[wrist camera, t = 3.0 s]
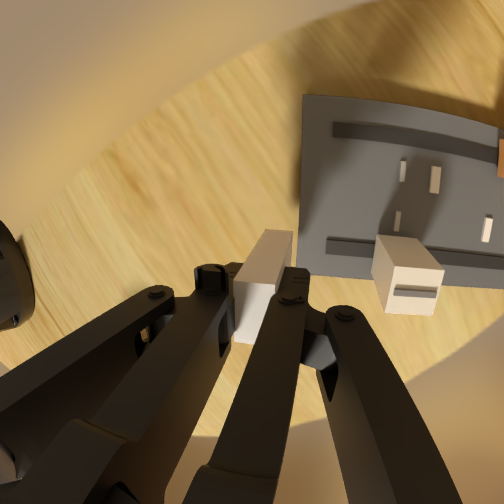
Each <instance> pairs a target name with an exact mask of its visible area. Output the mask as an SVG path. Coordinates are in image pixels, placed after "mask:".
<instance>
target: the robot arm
mask: <svg viewBox="0 0 504 504" xmlns="http://www.w3.org/2000/svg"><path fill="white" fill-rule="evenodd" d="M292 235H293V231H282V230H269V229H265V231H264V233H263V234H262V236H261V237H260V239H259V240H258V242H257V244H256V245H255V247H254V248H253V250H252V251H251V253H250V255H249V256H248V258H247V259H246V261H245V262H244V263H235V262H231V263H229V264H227V265H225V266H223V265H219V264H205V265H201V266H198V267H196V268H195V269H194V276H195V290H194V291H193V293H192V294H191V295H190V296H189V297H174V291H173V289H172V288H170V287H168V286H163V285H155V286H152V287H148V288H146V289H144V290H142V291H140V292H139V293H137V294H135V295H134V296H132V297H130V298H129V299H127V300H125V301H124V302H122V303H120V304H118V305H117V306H115V307H113V308H112V309H110V310H108V311H107V312H105V313H103V314H102V315H100V316H98V317H97V318H95V319H93V320H92V321H90V322H88V323H87V324H85V325H83V326H82V327H80V328H78V329H77V330H75V331H74V332H72V333H70V334H69V335H67V336H65V337H64V338H62V339H60V340H59V341H57V342H56V343H54V344H52V345H51V346H49V347H48V348H46V349H44V350H43V351H41V352H39V353H38V354H36V355H35V356H33V357H31V358H30V359H28V360H27V361H25V362H23V363H22V364H20V365H19V366H17V367H16V368H14V369H12V370H11V371H9V372H8V373H6V374H5V375H3V376H1V377H0V504H164V495H165V490H166V487H167V485H168V483H169V481H170V479H171V477H172V474H173V472H174V470H175V468H176V466H177V464H178V462H179V460H180V458H181V456H182V454H183V451H184V449H185V447H186V445H187V443H188V441H189V439H190V437H191V435H192V433H193V430H194V428H195V426H196V424H197V422H198V420H199V418H200V415H201V413H202V411H203V409H204V407H205V405H206V403H207V400H208V398H209V396H210V394H211V392H212V390H213V387H214V385H215V383H216V381H217V379H218V376H219V374H220V372H221V370H222V368H223V365H224V363H225V361H226V359H227V357H228V354H229V352H230V350H231V337H232V335H233V333H234V342H240V343H246V344H253V345H254V346H253V349H252V352H251V354H250V357H249V360H248V363H247V365H246V368H245V371H244V373H243V376H242V379H241V381H240V384H239V387H238V389H237V392H236V395H235V397H234V400H233V403H232V405H231V408H230V410H229V413H228V416H227V418H226V421H225V423H224V426H223V428H222V431H221V434H220V436H219V439H218V441H217V444H216V446H215V449H214V451H213V454H212V456H211V459H210V461H209V462H208V463H207V464H206V465H202V466H201V467H200V468H199V469H198V471H197V472H196V474H195V476H194V478H193V480H192V482H191V485H190V487H189V489H188V491H187V494H186V496H185V498H184V500H183V503H182V504H273V502H274V498H275V494H276V490H277V485H278V480H279V475H280V471H281V466H282V462H283V457H284V452H285V447H286V442H287V437H288V431H289V426H290V420H291V415H292V409H293V403H294V397H295V391H296V385H297V379H298V373H299V366H300V363H301V364H304V365H307V366H310V367H312V368H315V369H316V376H317V379H318V383H319V387H320V390H321V394H322V398H323V402H324V405H325V409H326V413H327V417H328V421H329V424H330V428H331V432H332V436H333V440H334V444H335V448H336V452H337V456H338V460H339V464H340V468H341V472H342V476H343V481H344V485H345V489H346V493H347V498H348V502H349V504H463V503H462V501H461V499H460V496H459V494H458V492H457V489H456V487H455V485H454V483H453V480H452V478H451V476H450V474H449V471H448V469H447V467H446V465H445V463H444V461H443V459H442V457H441V455H440V452H439V450H438V448H437V446H436V445H435V442H434V440H433V438H432V436H431V434H430V432H429V430H428V428H427V426H426V424H425V422H424V420H423V419H422V417H421V415H420V413H419V411H418V409H417V407H416V405H415V404H414V402H413V400H412V398H411V396H410V394H409V392H408V390H407V389H406V387H405V385H404V383H403V381H402V380H401V378H400V376H399V374H398V372H397V371H396V369H395V367H394V365H393V364H392V362H391V360H390V358H389V357H388V355H387V353H386V351H385V350H384V348H383V346H382V345H381V343H380V341H379V339H378V338H377V336H376V334H375V333H374V331H373V329H372V328H371V326H370V324H369V323H368V321H367V319H366V318H365V316H364V315H363V313H362V312H361V311H360V310H358V309H356V308H354V307H352V306H348V305H338V306H333V307H331V308H329V309H328V310H327V311H326V313H323V312H320V311H317V310H315V309H314V308H312V307H311V306H310V305H309V303H308V294H309V284H310V274H311V273H310V272H309V271H308V270H307V268H297V267H291V252H292ZM33 311H34V293H33V287H32V283H31V279H30V275H29V272H28V269H27V266H26V263H25V260H24V258H23V255H22V253H21V251H20V249H19V247H18V245H17V243H16V241H15V239H14V238H13V236H12V234H11V232H10V231H9V229H8V228H7V227H6V226H5V224H4V223H3V222H2V221H1V220H0V332H2V331H5V330H9V329H13V328H17V327H19V326H21V325H22V324H23V323H25V322H26V321H27V320H29V319H30V318H31V316H32V314H33ZM144 328H146V331H147V336H148V338H146V339H145V340H142V338H141V334H140V331H142V330H143V329H144ZM21 478H22V479H21ZM18 479H20V480H18Z"/></svg>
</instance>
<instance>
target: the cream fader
mask: <svg viewBox="0 0 504 504" xmlns="http://www.w3.org/2000/svg"><path fill="white" fill-rule="evenodd" d="M444 272H445V270H444V269H443V268H442V266H441V265H440V264H439V263H438V262H437V261H436V259H435V258H434V257H433V256H432V255H431V254H430V253H429V251H428V250H427V249H426V248H425V247H424V246H423V245H422V244H421V243H420V241H419V240H418V239H417V238H408V237H399V236H389V235H379V234H377V236H376V243H375V250H374V257H373V263H372V269H371V273H372V276H373V279H374V282H375V285H376V288H377V291H378V294H379V297H380V300H381V304H382V307H383V310H384V313H391V314H409V315H431V316H432V315H433V311H434V308H435V305H436V302H437V298H438V295H439V291H440V287H441V284H442V280H443V276H444Z"/></svg>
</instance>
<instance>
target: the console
mask: <svg viewBox="0 0 504 504" xmlns="http://www.w3.org/2000/svg"><path fill="white" fill-rule="evenodd" d="M500 139H504V130H503V129H500V128H497V127H494V126H491V125H487V124H484V123H481V122H477V121H474V120H470V119H467V118H463V117H459V116H455V115H451V114H447V113H442V112H438V111H434V110H429V109H424V108H419V107H414V106H408V105H402V104H396V103H390V102H383V101H376V100H368V99H359V98H350V97H339V96H326V95H308V94H303V117H302V160H301V187H300V208H299V227H298V244H297V259H296V267H297V268H307V270H308V271H309V272H310V273H311V274H310V275H319V276H330V277H342V278H354V279H366V280H374V279H373V276H372V273H371V269H372V263H373V257H374V250H375V243H376V236H377V234H379V235H389V236H399V237H408V238H417V239H418V240H419V241H420V243H421V244H422V245H423V246H424V247H425V248H426V249H427V250H428V251H429V253H430V254H431V255H432V256H433V257H434V258H435V259H436V261H437V262H438V263H439V264H440V265H441V266H442V268H443V269H444V270H445V272H444V276H443V280H442V284H441V285H446V286H461V287H476V288H493V289H504V178H501V177H497V173H498V161H499V142H500Z"/></svg>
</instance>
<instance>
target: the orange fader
mask: <svg viewBox="0 0 504 504" xmlns="http://www.w3.org/2000/svg"><path fill="white" fill-rule="evenodd" d="M497 177H501V178H504V139H500V142H499V161H498V173H497Z"/></svg>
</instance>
